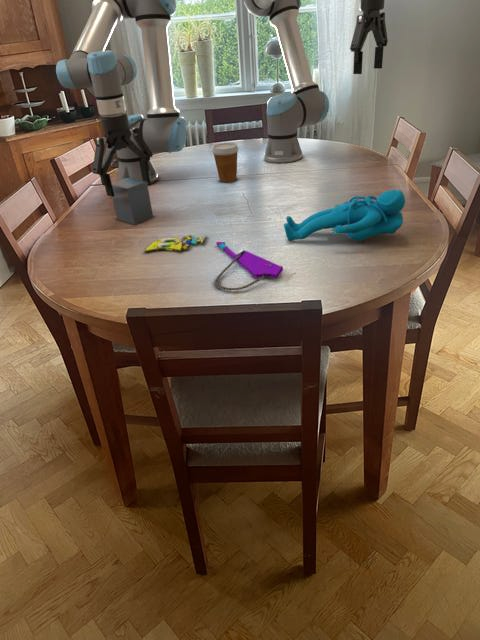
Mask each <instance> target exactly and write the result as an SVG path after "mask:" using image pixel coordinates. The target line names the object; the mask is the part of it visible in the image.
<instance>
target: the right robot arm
mask: <svg viewBox="0 0 480 640" xmlns="http://www.w3.org/2000/svg"><path fill="white" fill-rule="evenodd" d="M243 3H244V6H245V9H246V10H247V11H248V12H249V13H250V14H251V15H253V16H256V17H258V18H262V17H268V20H269V24H270V26H272V27H274V28H275V30H276V34H277V39H278V42H279V46H280V49H281V53H282V56H283V61H284V64H285V68H286V72H287V76H288V79H289V82H290V86H291V92H287V93H281V94H277V95H274V96H272V97H270V98H269V99H268V100H267V101H266V118H267V119H266V121H267V142H266V147H265V150H264V154H263V155H264V157H263V158H264V161H265V162H269V163H273V164H274V163H275V164H285V163H292V162H296V161H299V160H301V159H302V158H303V151H302V148H301V144H300V142H299V139H298V129H299V128H304V127H309V126H315V125H317V124H319V123H321V122H323V121H324V120H326V118H327V116H328V113H329V110H330V100H329V96H328V95H327V94H326V92H324V91H322V90H320V87H319V84H318V83H316V82H315V81H314V79H313V76H312V71H311V68H310V64H309V61H308V57H307V53H306V49H305V45H304V42H303V38H302V34H301V31H300V27H299V22H298V17H299V14H300V9H301V7H302V1H301V0H243ZM384 9H385V0H359V11H360V12H362V14H359V15H356V21H355V22H356V24H355V26H354V31H353V35H352V39H351V43H350V46H349V50H350V52H351V53H352V52H353V71H352V74H353V75H361V74H362V75H363V59H364V58H363V57H364V51H362V49H363V48H364V46H365V43H366V39H367V37H368V34H369V33H370V32H372V35H373V38H374V41H375V44H376V46H375V47H374V58H373V59H374V60H373V63H374V64H373V69H383V61H384V60H383V59H384V47H387V46H388V33H387V26H386V12H381V11H382V10H384Z"/></svg>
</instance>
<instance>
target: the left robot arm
mask: <svg viewBox="0 0 480 640" xmlns="http://www.w3.org/2000/svg"><path fill="white" fill-rule="evenodd" d="M176 4H177V3H176V0H93V1H92V3H91V14H90V15H89V18H88V19H87V22H86V24H85V25H84V28H83V30H82V32H81V34H80V37H78V40H77V43H76V45H75V46H74V49H73V51H72V53H71V55H70V57H69V59H67V58H64V59H62V60H59V61H57V63H56V65H55V73H56V77H57V80H58V82H59V84H60V85H61V86H62V87H63V88H65V89H75V90H78V89H87V88H92V89H93V92H94V96H95V102H96V106H97V111H98V114H99V116H100V123H101V128H102V130H103V133H104V136H102V137H100V136H95V139H94V141H95V151H94V157H93V162H92V163H93V164H92V169H91V170H92V173H93V174H95V175H99V177H100V181H101V185H102V186H104V189H105V192H106V195H107V197H108V196H109V197H111V198H112V197H113V196H114V192H113V187H112V183H113V182H112V179H111V175H110V173H108V171H109V168H112V169H118V170H117V181H119V180H122V179H125V178H128V177H129V178H133V179H137V180H142V181H146V182H147V186H149V185H151V184H154V183H156V182H157V181H158V180H159V176H158V172H157V169H156V168H155V166H154V163H153V161H152V159H151V158H153V156H154V154H157V153H158V154H159V153H160V154H162V153H168V154H171V153H178V152H181V151H182V150H183V149H184V147H185V145H186V143H187V142H186V141H187V136H188V135H187V133H188V132H187V131H188V128H187V121H186V119H185V117H184V116H181V114H180V110H179V109H178V108H176V106H175V96H174V84H173V74H172V66H171V65H172V64H171V53H170V44H169V35H168V34H169V33H168V27H169V26H170V24H171V23H172V17H171V16H173V15H175V14H176V11H177V9H176V8H177V5H176ZM126 19H127V20H128V19H134V21H135V24H136V25H137V26H138V28H139V29H140V31H141V41H142V49H143V58H144V66H145V74H146V82H147V83H146V85H147V91H148V100H149V109H148V110H147V112H146V118H144V116H143V114H142V113H136V114H131V115H128V114H127V113H126V112H127V107H126V101H125V96H124V92H123V86H125V85H129V84H131V83H132V82H133V81H134V80H135V79H136V77H137V73H138V68H137V64H136V62H135V60H134V58H132V57H131V56H130V55H128V54H122V53H121V54H116V53H115V52H114V51H113V50H106V47H107V46H108V43H109V41H110V38H111V36H112V34H113V32H114V29H115V28H116V27H118V26H119V25H120V24H121V22H122V21H123V20H124V21H125V20H126ZM105 145H106V146H105ZM115 154H116V156H117V159H113V158H114V155H115ZM114 163H115V164H116V163H118V165H113V164H114Z"/></svg>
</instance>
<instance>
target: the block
mask: <svg viewBox="0 0 480 640" xmlns="http://www.w3.org/2000/svg"><path fill="white" fill-rule="evenodd" d="M111 183H112V187H113V192H114V196H113V197H111V198H112V203H113V208H114V212H115V216H116V220H119V221H122V222H125V223H128V224H131V225H134V226H135V225H138V224H140V223H143V222H145V221H147V220H149V219H153V218H154V213H153V208H152V202H151V196H150V192H149V185H147V182H146V181H142V180H137V179H133V178H129V177H128V178H125V179H122V180H119V181H118V180H116V181H113V182H111Z"/></svg>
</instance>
